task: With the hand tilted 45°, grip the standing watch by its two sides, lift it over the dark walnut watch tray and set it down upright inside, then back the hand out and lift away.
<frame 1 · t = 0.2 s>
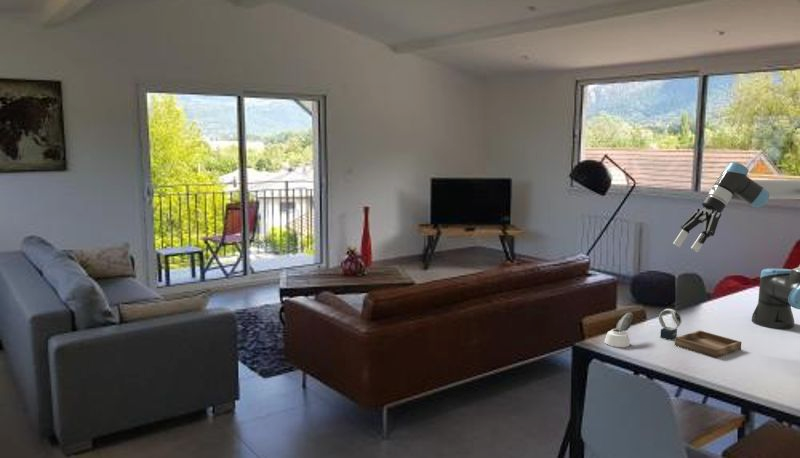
hand: (684, 247, 236), 35 cm above the table, tool tilted 30°, fingers open, 13 cm apart
walnut watch tray: (707, 347, 229), on the table
inkwell: (621, 341, 237), on the table
watch: (668, 337, 241), on the table
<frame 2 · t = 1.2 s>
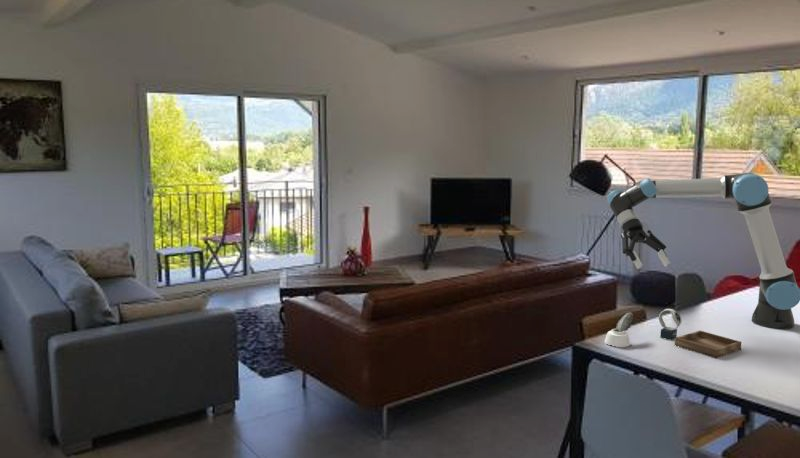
hand: (653, 266, 247), 26 cm above the table, tool tilted 45°, fingers open, 13 cm apart
nothing on the table moved.
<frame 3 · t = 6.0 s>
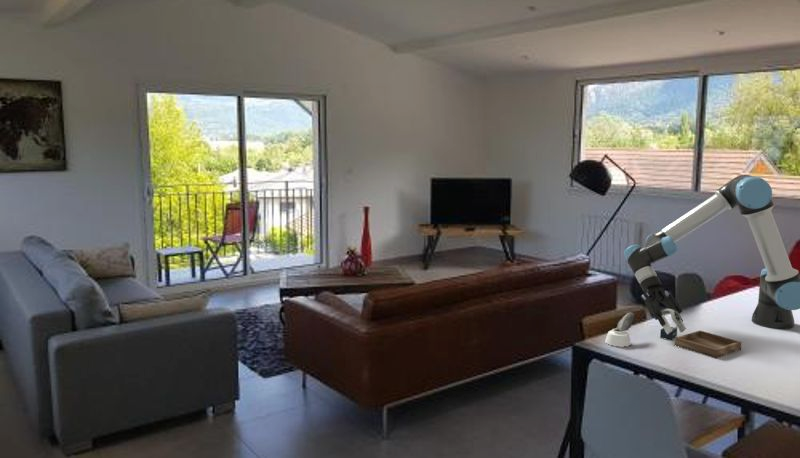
hand: (676, 331, 237), 3 cm above the table, tool tilted 45°, fingers closed on watch, 6 cm apart
watch: (668, 337, 241), on the table, touching gripper
everything else where it was.
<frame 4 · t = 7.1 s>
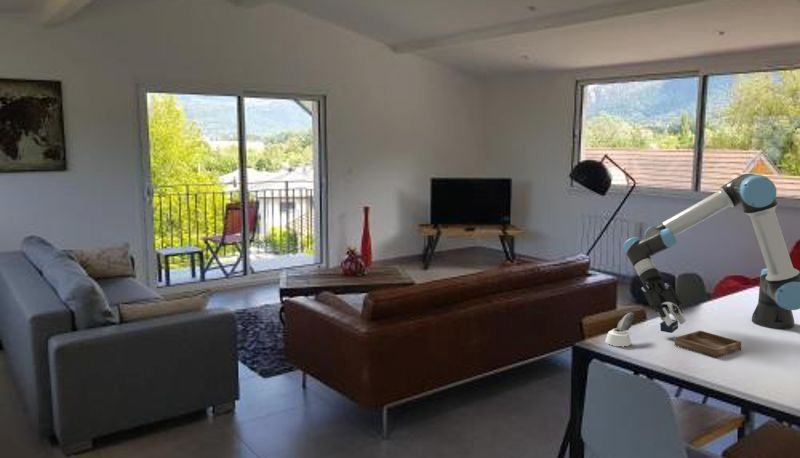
hand: (676, 323, 237), 7 cm above the table, tool tilted 45°, fingers closed on watch, 6 cm apart
watch: (669, 330, 241), point 3 cm above the table, touching gripper
everything else where it was.
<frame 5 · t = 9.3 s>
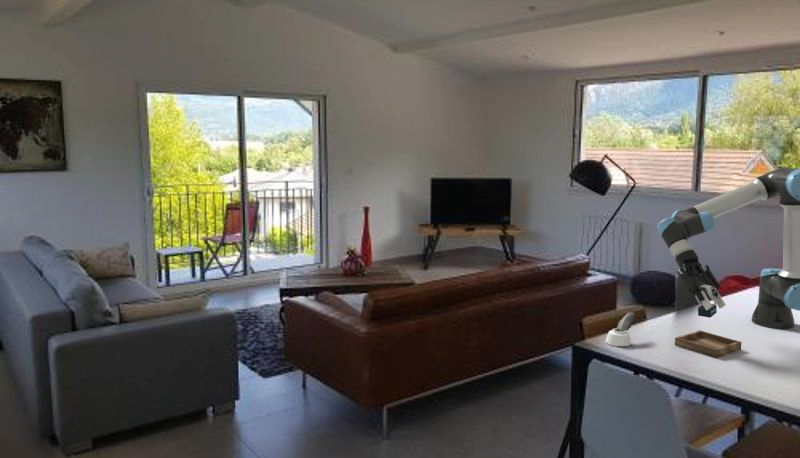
hand: (715, 307, 224), 16 cm above the table, tool tilted 45°, fingers closed on watch, 6 cm apart
watch: (707, 314, 229), point 12 cm above the table, touching gripper
everything else where it was.
when the fingers open (6 cm above the table, at t = 11.4 s): watch drops 1 cm, resting on walnut watch tray.
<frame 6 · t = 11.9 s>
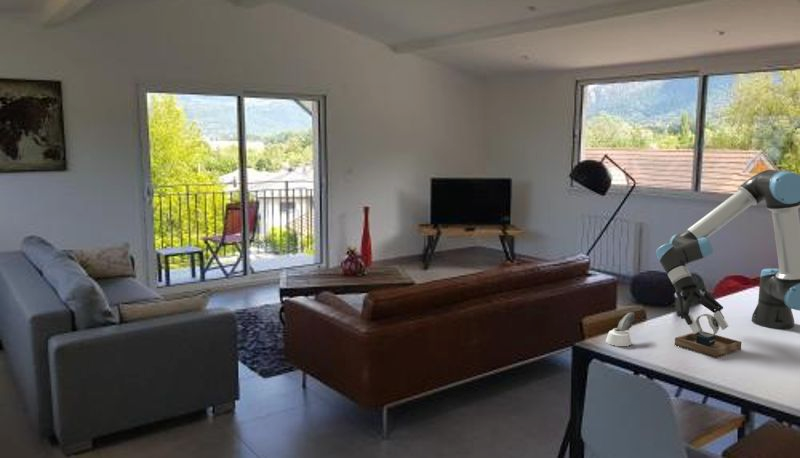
hand: (711, 330, 227), 7 cm above the table, tool tilted 45°, fingers open, 13 cm apart
watch: (705, 344, 230), point 1 cm above the table, touching walnut watch tray
everything else where it was.
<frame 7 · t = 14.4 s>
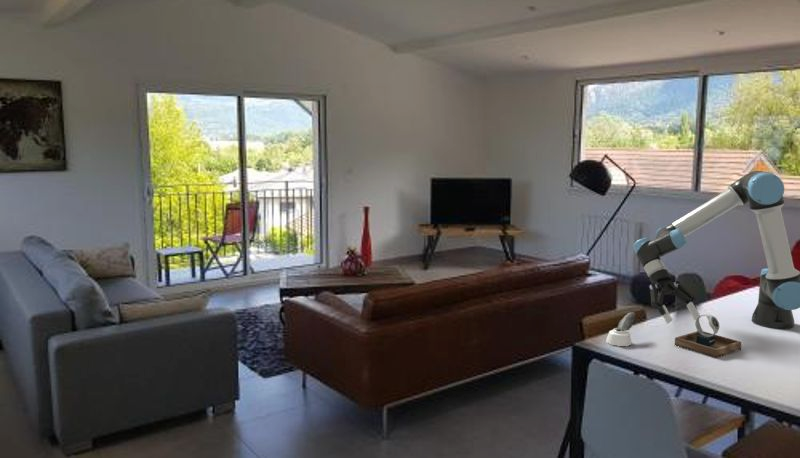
hand: (683, 320, 239), 7 cm above the table, tool tilted 45°, fingers open, 13 cm apart
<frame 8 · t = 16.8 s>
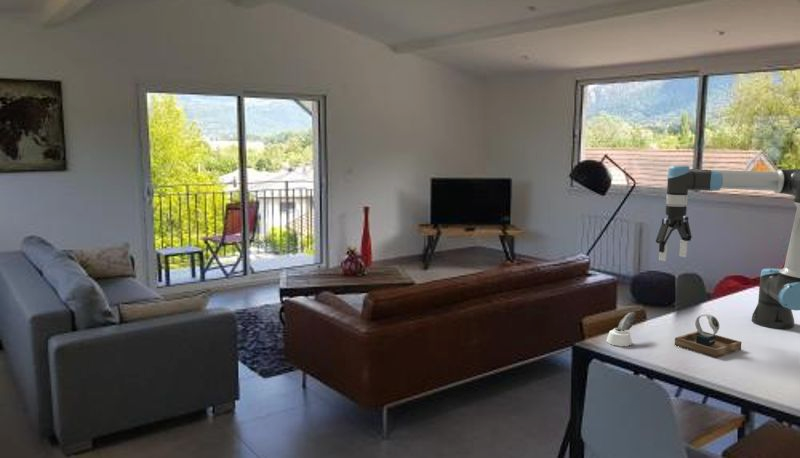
hand: (672, 258, 248), 29 cm above the table, tool pointing down, fingers open, 13 cm apart
at the end: watch inside the target area on the walnut watch tray (1.3 cm from its centre), point 0.8 cm above the walnut watch tray's base; watch tilted 0°; the gripper is holding nothing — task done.
